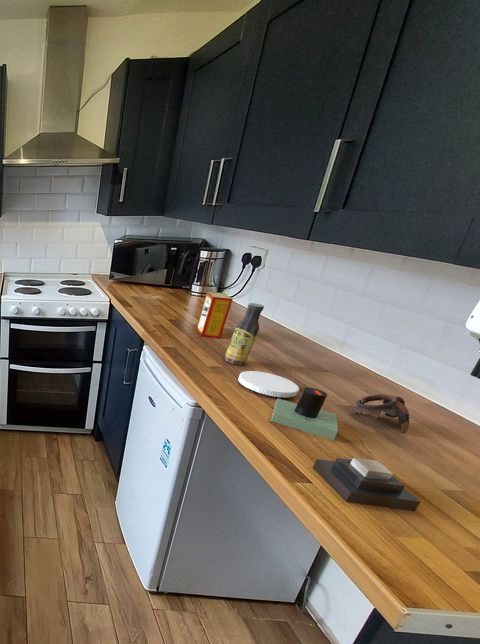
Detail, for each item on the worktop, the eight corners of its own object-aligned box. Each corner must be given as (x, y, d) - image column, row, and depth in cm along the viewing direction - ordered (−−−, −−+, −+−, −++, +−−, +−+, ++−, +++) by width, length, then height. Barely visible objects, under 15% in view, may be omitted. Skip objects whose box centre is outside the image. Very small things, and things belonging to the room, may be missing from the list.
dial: (290, 407, 100) (300, 385, 97) (310, 410, 99) (320, 387, 96) (300, 416, 96) (311, 393, 93) (321, 419, 95) (332, 395, 92)
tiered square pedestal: (373, 475, 80) (382, 459, 78) (414, 511, 71) (426, 493, 69) (312, 467, 82) (320, 451, 80) (345, 501, 73) (355, 484, 71)
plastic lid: (273, 379, 121) (276, 372, 120) (308, 401, 108) (311, 393, 107) (227, 377, 121) (229, 369, 120) (256, 399, 108) (259, 391, 107)
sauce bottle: (219, 360, 134) (238, 302, 126) (231, 357, 137) (251, 300, 128) (238, 367, 129) (258, 307, 121) (250, 365, 131) (271, 306, 123)
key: (372, 467, 76) (376, 460, 76) (388, 481, 73) (393, 473, 72) (349, 464, 77) (353, 457, 76) (364, 478, 73) (368, 470, 73)
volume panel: (332, 423, 99) (337, 413, 97) (333, 440, 91) (338, 430, 90) (273, 406, 105) (277, 397, 104) (270, 421, 98) (274, 412, 97)
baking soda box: (196, 329, 165) (207, 290, 158) (213, 331, 163) (225, 292, 157) (201, 336, 156) (213, 296, 150) (220, 338, 155) (233, 297, 148)
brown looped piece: (403, 440, 93) (393, 408, 93) (352, 435, 102) (343, 406, 101) (425, 417, 98) (416, 386, 97) (374, 414, 107) (365, 386, 106)
